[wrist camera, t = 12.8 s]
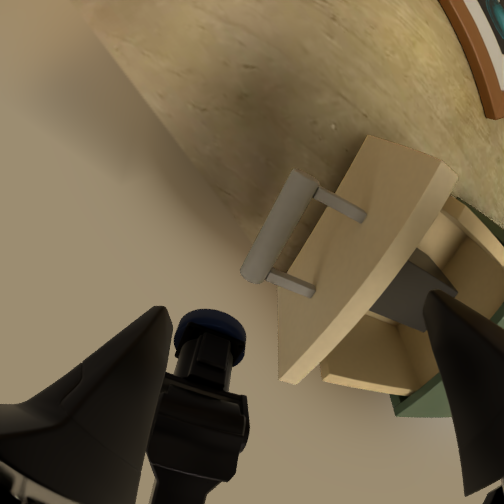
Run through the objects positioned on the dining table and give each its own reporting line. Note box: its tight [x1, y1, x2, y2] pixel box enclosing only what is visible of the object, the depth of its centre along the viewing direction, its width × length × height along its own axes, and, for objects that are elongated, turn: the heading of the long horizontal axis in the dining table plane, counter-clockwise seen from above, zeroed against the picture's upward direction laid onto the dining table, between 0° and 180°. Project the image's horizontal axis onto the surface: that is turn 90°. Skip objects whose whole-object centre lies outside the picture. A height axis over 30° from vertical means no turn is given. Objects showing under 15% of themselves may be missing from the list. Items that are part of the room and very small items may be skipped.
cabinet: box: [390, 197, 504, 417], centre depth 17 cm, size 14×15×11 cm
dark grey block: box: [369, 247, 458, 333], centre depth 16 cm, size 7×4×5 cm, turn 65°
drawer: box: [240, 135, 504, 396], centre depth 15 cm, size 17×13×9 cm
